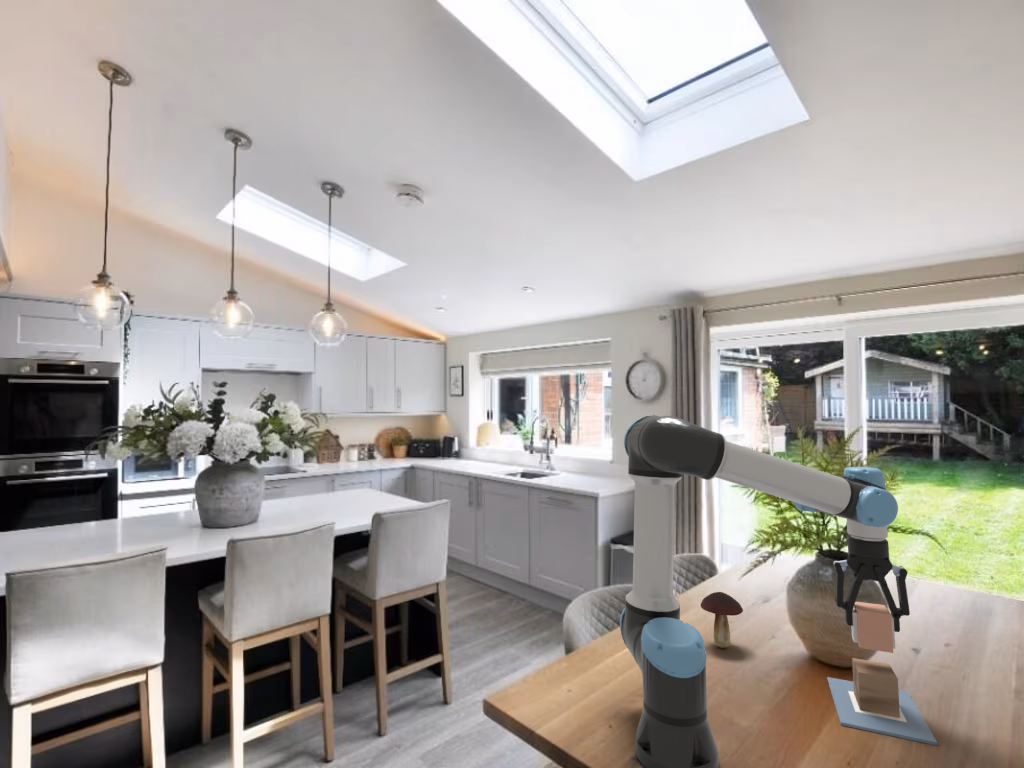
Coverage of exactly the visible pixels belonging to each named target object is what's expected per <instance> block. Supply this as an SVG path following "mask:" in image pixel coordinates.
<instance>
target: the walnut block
mask: <svg viewBox="0 0 1024 768" xmlns="http://www.w3.org/2000/svg"><path fill="white" fill-rule="evenodd" d="M851 660H852V661H851V662H852V682H853V684H854V695H855V698H856V701H857V703H858V706H859V708H860V710H861V711H866V712H871V713H876V714H882V715H887V716H892V717H897V718H900V710H899V691H898V690H899V678H898V677H897V675H896V673H895V671H894V670H893V668H892V666H891V664H890V663H885V662H877V661H873V660H866V659H861V658H860V659H859V658H855V657H852V658H851Z"/></svg>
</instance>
